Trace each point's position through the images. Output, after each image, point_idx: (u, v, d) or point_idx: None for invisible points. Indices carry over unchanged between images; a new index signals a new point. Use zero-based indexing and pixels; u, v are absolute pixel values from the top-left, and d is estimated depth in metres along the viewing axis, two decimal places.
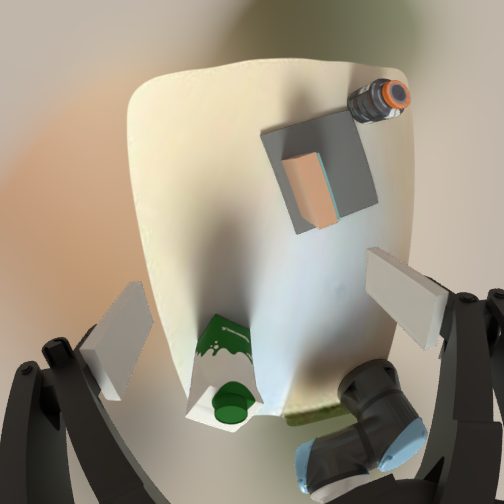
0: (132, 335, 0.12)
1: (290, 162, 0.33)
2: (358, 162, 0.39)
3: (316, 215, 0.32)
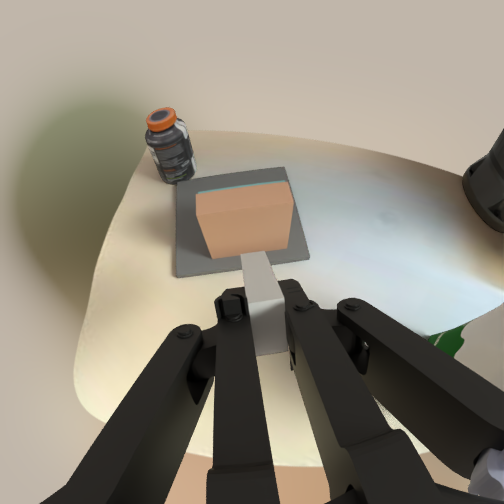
0: None
1: (207, 234, 0.28)
2: (235, 180, 0.38)
3: (274, 203, 0.25)
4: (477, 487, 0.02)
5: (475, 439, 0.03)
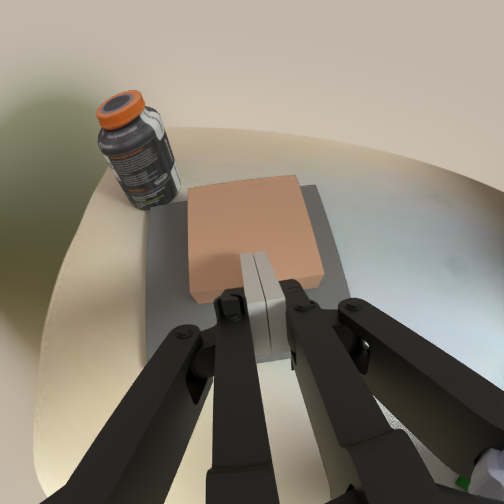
0: None
1: (193, 222, 0.20)
2: None
3: None
4: (477, 487, 0.02)
5: (475, 439, 0.03)
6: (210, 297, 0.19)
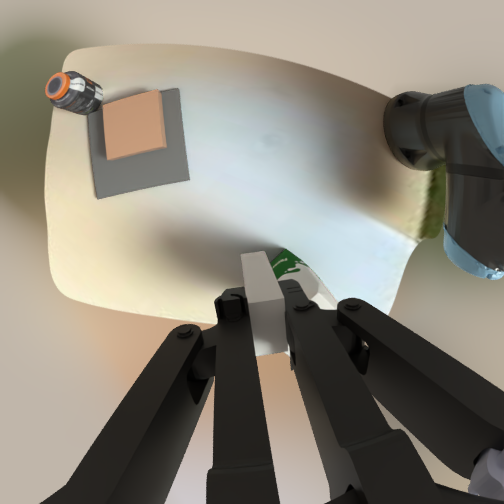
0: None
1: (106, 124, 0.33)
2: None
3: (146, 92, 0.32)
4: (477, 487, 0.02)
5: (475, 439, 0.03)
6: (117, 158, 0.36)
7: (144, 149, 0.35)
